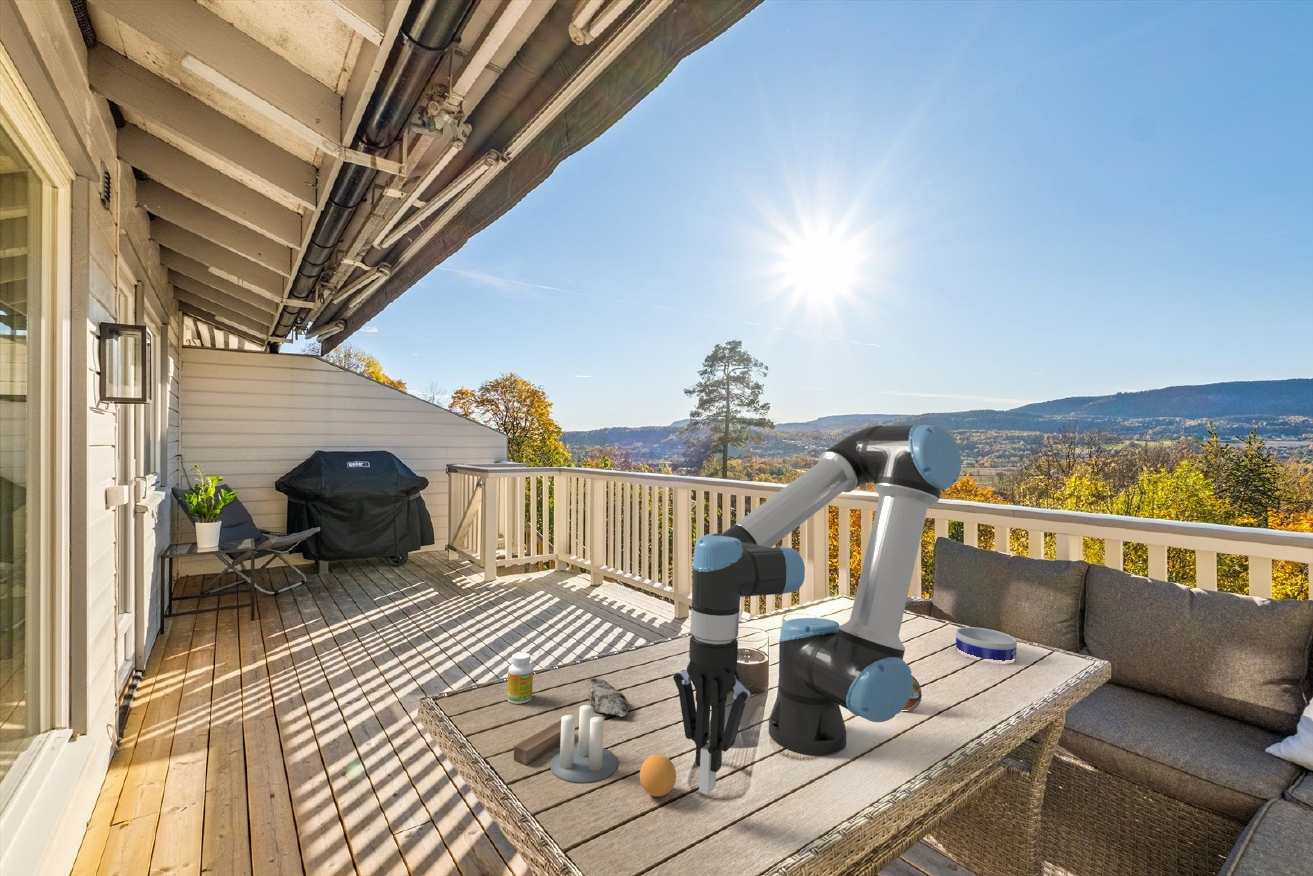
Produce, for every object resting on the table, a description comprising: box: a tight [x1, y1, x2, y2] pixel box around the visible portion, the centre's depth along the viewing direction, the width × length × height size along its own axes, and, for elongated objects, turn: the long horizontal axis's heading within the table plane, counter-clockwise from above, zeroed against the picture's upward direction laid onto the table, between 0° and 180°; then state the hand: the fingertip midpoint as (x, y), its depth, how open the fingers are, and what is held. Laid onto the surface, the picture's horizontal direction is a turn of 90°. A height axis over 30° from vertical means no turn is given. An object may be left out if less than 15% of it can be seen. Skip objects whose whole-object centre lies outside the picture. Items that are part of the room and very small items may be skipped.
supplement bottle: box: [506, 652, 534, 705], centre depth 130 cm, size 5×5×10 cm
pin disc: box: [549, 745, 619, 784], centre depth 104 cm, size 12×12×1 cm
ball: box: [639, 754, 677, 798], centre depth 96 cm, size 6×6×6 cm
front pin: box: [589, 716, 605, 771], centre depth 103 cm, size 2×2×8 cm
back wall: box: [513, 719, 561, 766], centre depth 110 cm, size 3×13×2 cm, turn 147°
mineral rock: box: [585, 677, 629, 717], centre depth 128 cm, size 15×8×4 cm, turn 16°
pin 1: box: [559, 714, 576, 769], centre depth 103 cm, size 2×2×8 cm
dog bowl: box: [955, 626, 1018, 661], centre depth 169 cm, size 15×15×6 cm
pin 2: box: [577, 704, 594, 757], centre depth 108 cm, size 2×2×8 cm
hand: (707, 788), depth 91 cm, fingers closed
